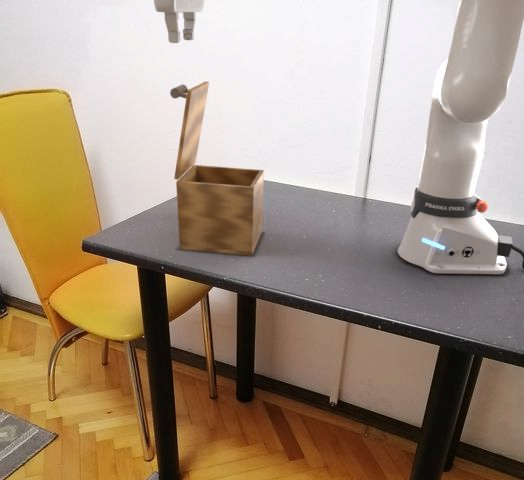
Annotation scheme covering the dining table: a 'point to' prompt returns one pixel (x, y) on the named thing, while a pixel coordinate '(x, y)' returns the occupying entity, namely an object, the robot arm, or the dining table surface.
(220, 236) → the chest
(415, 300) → the dining table surface
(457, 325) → the dining table surface
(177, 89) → the lid
